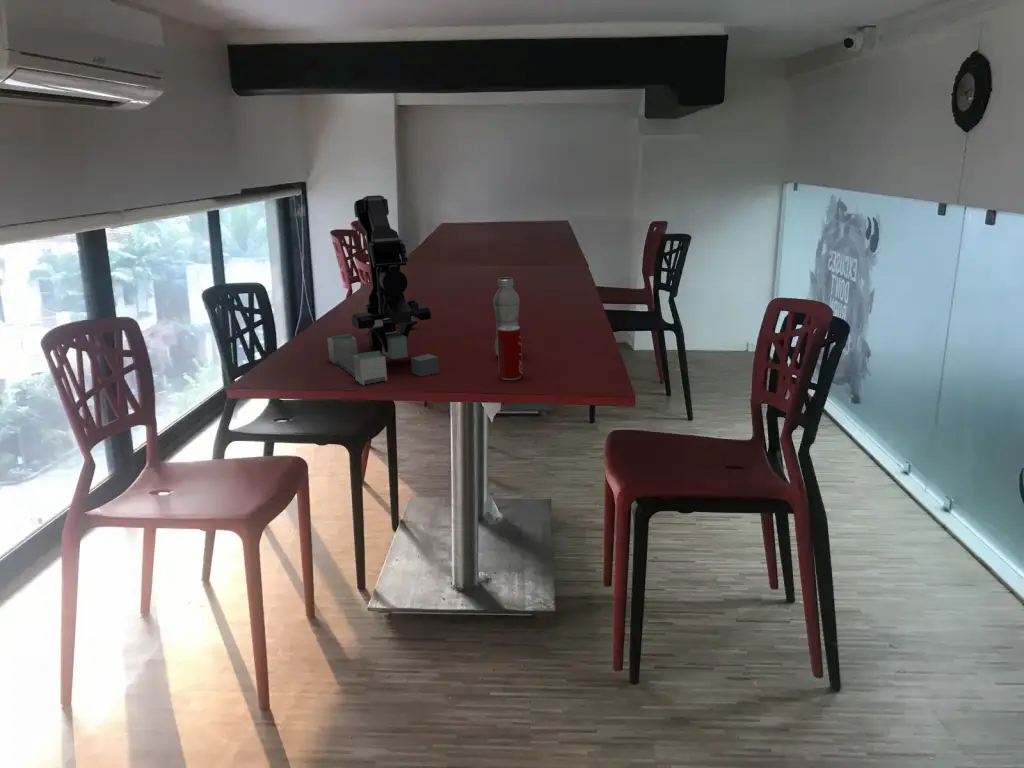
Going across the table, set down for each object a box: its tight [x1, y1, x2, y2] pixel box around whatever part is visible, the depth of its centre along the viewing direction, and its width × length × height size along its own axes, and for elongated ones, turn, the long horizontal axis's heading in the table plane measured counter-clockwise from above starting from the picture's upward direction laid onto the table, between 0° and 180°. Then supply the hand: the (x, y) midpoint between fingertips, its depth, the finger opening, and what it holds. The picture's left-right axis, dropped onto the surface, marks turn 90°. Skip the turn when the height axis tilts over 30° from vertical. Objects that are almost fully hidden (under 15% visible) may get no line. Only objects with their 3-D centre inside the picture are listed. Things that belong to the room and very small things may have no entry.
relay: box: [410, 353, 440, 377], centre depth 185 cm, size 5×4×4 cm
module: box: [381, 332, 409, 360], centre depth 193 cm, size 4×7×5 cm, turn 29°
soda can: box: [497, 325, 524, 381], centre depth 178 cm, size 6×6×12 cm
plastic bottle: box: [492, 276, 521, 357], centre depth 194 cm, size 6×7×20 cm
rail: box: [327, 333, 388, 386], centre depth 189 cm, size 6×26×7 cm, turn 29°
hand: (394, 350), depth 193 cm, fingers closed on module, 4 cm apart
